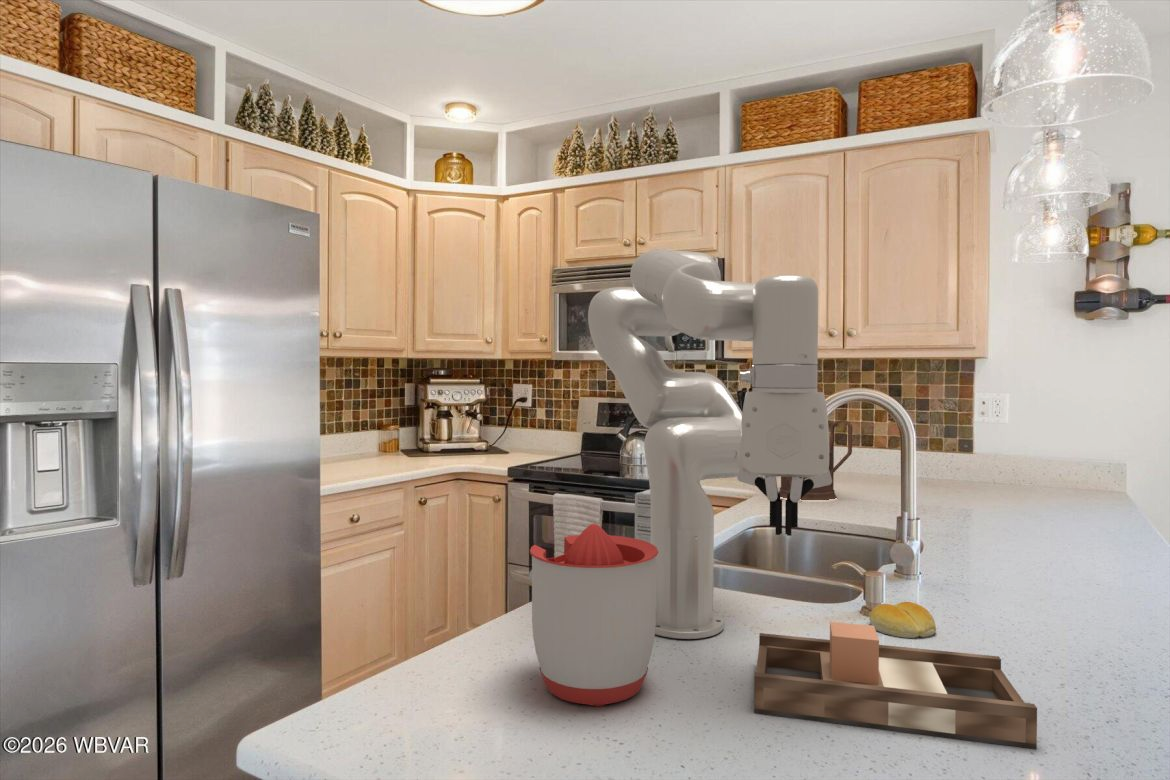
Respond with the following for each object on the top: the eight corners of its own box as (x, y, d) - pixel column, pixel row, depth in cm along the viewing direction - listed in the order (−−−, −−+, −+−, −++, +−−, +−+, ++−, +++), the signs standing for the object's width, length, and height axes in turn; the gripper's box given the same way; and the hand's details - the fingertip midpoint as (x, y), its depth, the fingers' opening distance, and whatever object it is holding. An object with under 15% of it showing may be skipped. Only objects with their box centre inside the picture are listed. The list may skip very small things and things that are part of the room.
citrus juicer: (575, 648, 99) (575, 505, 99) (682, 682, 88) (683, 521, 88) (492, 686, 87) (492, 523, 87) (605, 730, 76) (605, 544, 76)
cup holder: (797, 491, 238) (798, 415, 237) (866, 500, 219) (867, 419, 219) (764, 497, 226) (764, 418, 225) (833, 507, 207) (834, 421, 207)
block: (831, 679, 82) (832, 636, 82) (829, 662, 87) (829, 621, 87) (878, 684, 81) (878, 640, 81) (873, 667, 86) (874, 625, 86)
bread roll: (859, 622, 111) (859, 596, 111) (913, 620, 112) (913, 594, 112) (888, 641, 103) (888, 614, 103) (946, 639, 104) (946, 612, 104)
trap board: (754, 712, 80) (754, 675, 80) (759, 664, 94) (759, 632, 94) (1036, 749, 73) (1037, 708, 73) (998, 690, 86) (998, 656, 86)
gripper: (717, 380, 84) (717, 535, 84) (854, 380, 80) (852, 544, 80) (723, 380, 91) (722, 523, 92) (849, 380, 87) (847, 530, 88)
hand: (783, 532), depth 86 cm, fingers closed
